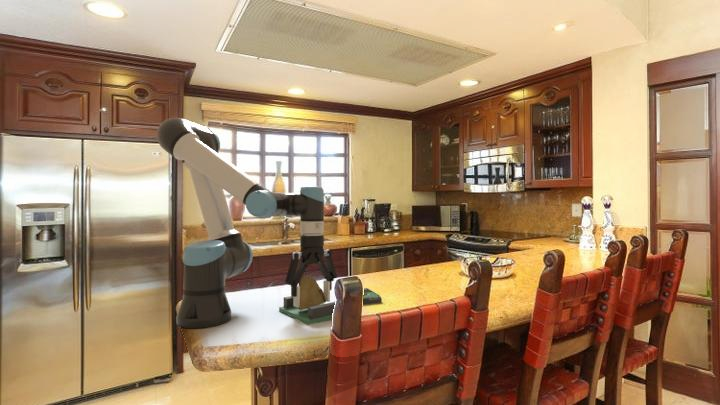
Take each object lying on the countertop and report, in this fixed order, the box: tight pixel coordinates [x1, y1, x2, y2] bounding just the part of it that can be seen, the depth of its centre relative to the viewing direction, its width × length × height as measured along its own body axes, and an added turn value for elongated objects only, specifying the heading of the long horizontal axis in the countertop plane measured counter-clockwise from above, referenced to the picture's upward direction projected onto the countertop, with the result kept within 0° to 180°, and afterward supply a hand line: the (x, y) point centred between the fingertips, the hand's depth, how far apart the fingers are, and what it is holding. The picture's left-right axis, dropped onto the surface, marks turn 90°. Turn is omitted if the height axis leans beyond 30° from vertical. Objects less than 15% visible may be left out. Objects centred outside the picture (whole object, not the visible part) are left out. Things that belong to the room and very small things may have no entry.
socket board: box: [278, 294, 336, 326], centre depth 117 cm, size 14×18×5 cm
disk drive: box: [363, 287, 383, 305], centre depth 136 cm, size 10×3×15 cm
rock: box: [298, 274, 327, 310], centre depth 117 cm, size 11×9×10 cm
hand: (312, 303), depth 117 cm, fingers closed on rock, 10 cm apart
